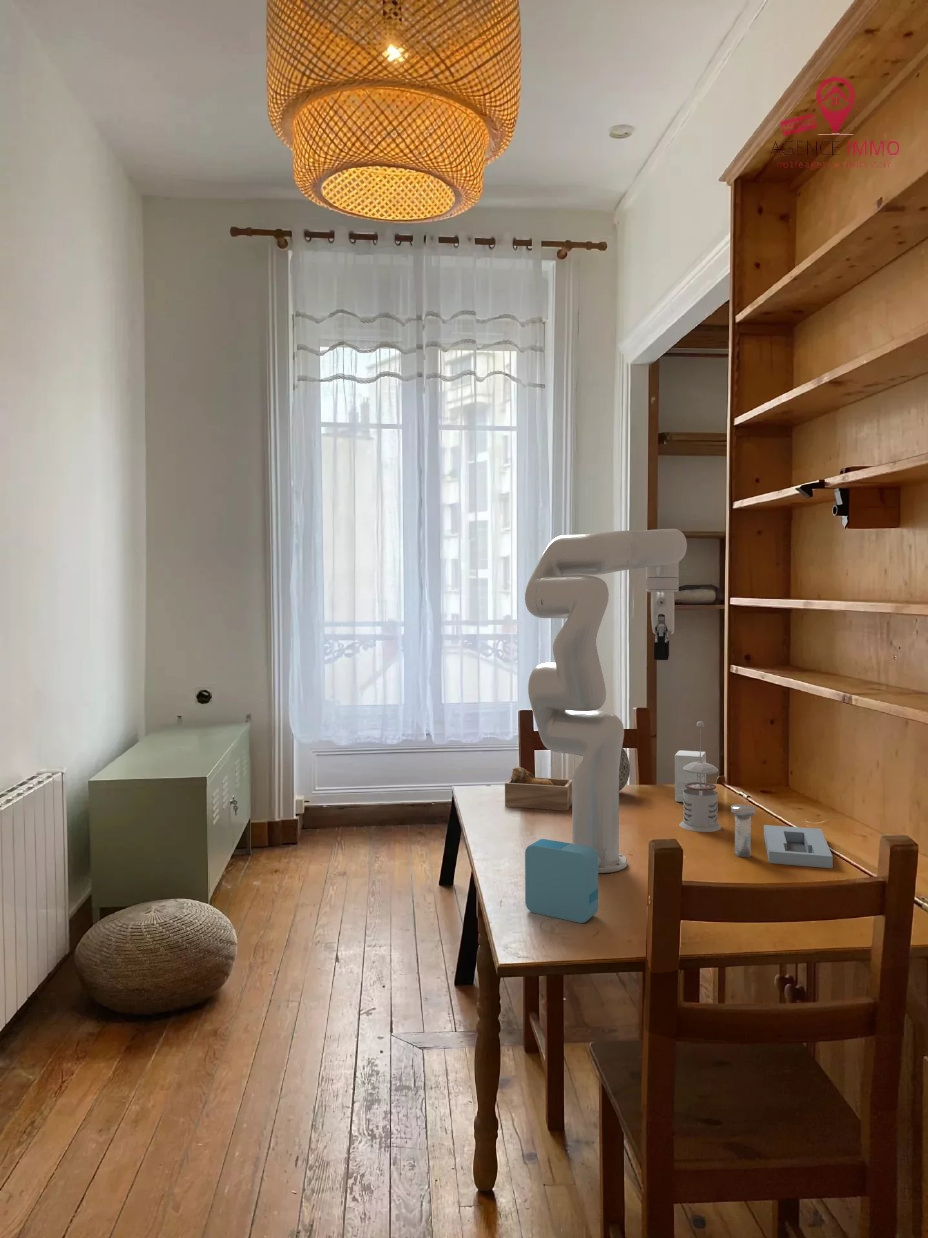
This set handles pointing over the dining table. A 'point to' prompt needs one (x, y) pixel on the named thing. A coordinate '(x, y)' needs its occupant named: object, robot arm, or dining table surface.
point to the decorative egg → (623, 769)
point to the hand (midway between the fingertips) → (661, 658)
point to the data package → (561, 880)
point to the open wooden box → (540, 794)
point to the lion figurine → (527, 777)
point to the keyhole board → (797, 846)
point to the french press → (700, 798)
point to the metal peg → (742, 829)
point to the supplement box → (685, 777)
